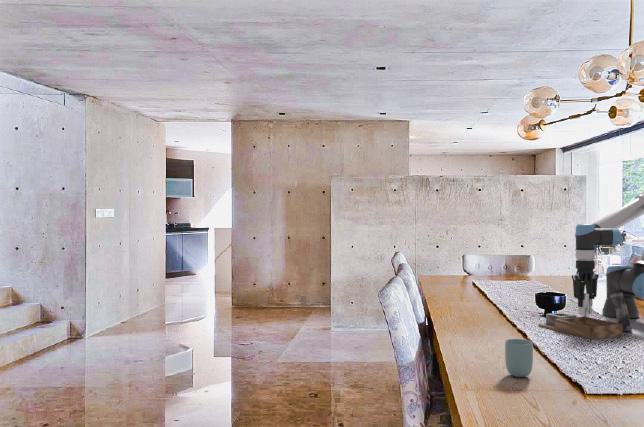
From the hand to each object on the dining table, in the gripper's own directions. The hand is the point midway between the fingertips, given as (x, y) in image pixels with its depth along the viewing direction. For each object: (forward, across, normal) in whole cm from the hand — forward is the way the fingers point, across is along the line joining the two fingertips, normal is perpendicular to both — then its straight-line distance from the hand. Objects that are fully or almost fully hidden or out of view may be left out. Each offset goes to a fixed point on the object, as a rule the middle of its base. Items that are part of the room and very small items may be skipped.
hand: (585, 314), depth 256 cm
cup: (+4, +82, +53) cm, 98 cm away
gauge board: (+4, +15, +11) cm, 19 cm away
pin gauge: (+4, 0, 0) cm, 4 cm away
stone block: (+4, -1, +17) cm, 18 cm away
